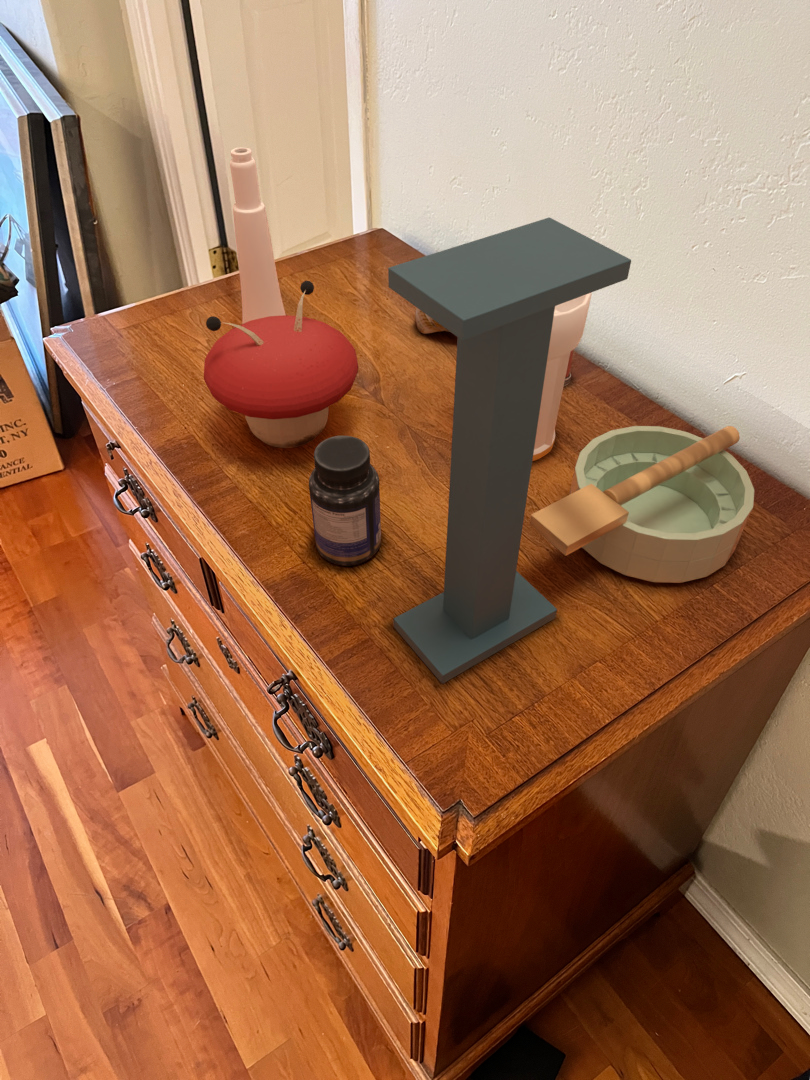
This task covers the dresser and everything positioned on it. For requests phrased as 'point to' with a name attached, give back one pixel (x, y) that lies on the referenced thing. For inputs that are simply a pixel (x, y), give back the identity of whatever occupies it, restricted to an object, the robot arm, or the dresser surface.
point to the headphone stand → (494, 423)
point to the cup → (559, 367)
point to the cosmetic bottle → (253, 242)
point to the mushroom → (281, 374)
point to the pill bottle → (345, 501)
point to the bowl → (667, 506)
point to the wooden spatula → (618, 496)
